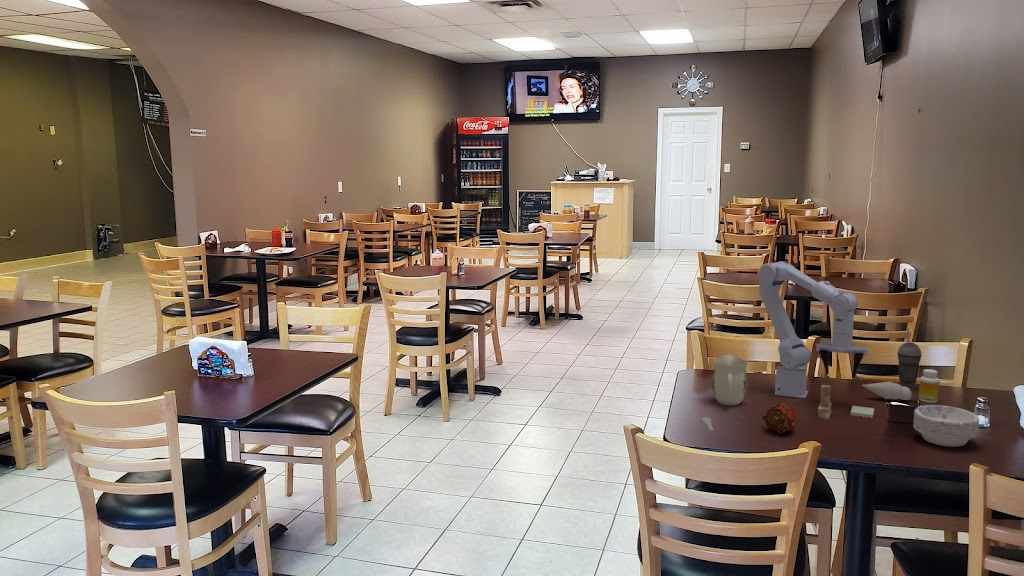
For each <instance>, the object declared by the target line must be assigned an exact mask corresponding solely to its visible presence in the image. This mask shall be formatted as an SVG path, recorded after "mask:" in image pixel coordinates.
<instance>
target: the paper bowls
mask: <svg viewBox="0 0 1024 576" xmlns="http://www.w3.org/2000/svg"><path fill="white" fill-rule="evenodd" d="M913 412H914V413H913V424H912V426H913V428H914V430H915V431H916V432H919V433H920V435H921V437H922V438H923V439H924V440H925V441H926V442H928V443H930V444H933V445H936V446H939V447H940V446H941V447H947V448H949V447H950V448H958V447H962V446H965V445H966V444H967V443H968V442H969V440H973V439H976V438H977V437H978V436H979V427H980V426H979V425H980V423H979V422H980V418H979V416H978V415H977V414H976V413H974V412H971V411H969V410H966V409H963V408H959V407H954V406H949V405H940V404H935V405H934V404H926V405H921V406H918V407H916V408H915V409H914V411H913Z"/></svg>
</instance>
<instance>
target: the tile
mask: <svg viewBox="0 0 1024 576" xmlns="http://www.w3.org/2000/svg"><path fill="white" fill-rule="evenodd" d="M874 413H875V408H874V407H866V406H865V407H864V406H858V405H852V407H851V410H850V416H853V417H860V416H862V417H863V418H868V417H870V419H873V417H874ZM862 417H861V418H862Z"/></svg>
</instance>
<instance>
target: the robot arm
mask: <svg viewBox="0 0 1024 576" xmlns="http://www.w3.org/2000/svg"><path fill="white" fill-rule="evenodd" d="M756 276H757V278H758V280H759V282H758V284H759V285H758V287H759V288H758V291H759V296H760V298H761V300H762V303H763V304H764V307H765V309H766V312H767V314H768V316H769V319H770V321H771V323H772V327H773V329H774V330H775V333H776V336H777V338H778V340H779V345H778V347H777V351H778V353H779V363H780V364H781V366H779V365H778V366H776V371H775V379H774V380H775V382H774V383H775V384H774V395H775V396H781V397H782V396H783V397H790V398H791V397H792V398H800V399H806V398H807V396H808V393H809V391H808V390H807V370H808V364H809V363H810V362H811V360H812V357H813V356H812V352H811V350H810V348H808V347H807V346H806V344H805V341H803V340H802V338H800V337H798V336H797V334H796V332H795V329H794V327H793V325H792V322H791V320H790V317H789V315H788V313H787V310H786V308H785V306H784V304H783V302H782V301H783V300H782V299H781V296H780V294H779V291H780V289H781V287H782V285H783V284H784V283H785V282H786V281H790V282H793V283H795V284H796V285H799V286H800V287H802V288H804V289H807V290H809V291H810V292H811V294H812V297H813V298H815V299H817V300H818V301H821V302H822V303H824V304H826V305H828V306H829V307H830V308H831V310H832V312H833V318H832V319H833V322H832V336H831V337H832V340H831V342H832V343H816V347H815V350H816V352H819V356H820V359H821V361H822V363H823V367H824V371H825V375H826V376H828V375H829V369H830V368H829V367H830V365H829V360H830V359H829V358H830V352H831V353H838V354H839V353H841V354H850V355H851V354H852V355H853V367H852V368H853V369H852V378H854V379H855V378H856V374H857V370H858V367H859V366H860V364H861V362H862V360H863V358H864V356H868V353H869V349H868V347H861V346H860V347H859V346H856V345H853V336H854V335H853V334H854V321H855V319H854V317H855V310H857V307H858V306H859V301H858V300H859V299H858V298H857V297H856V296H855V295H854V293H853V292H844V290H843V289H842V288H840V289H838V288H837V287H835V286H833V285H831V282H830V281H828V280H826V281H825V280H821V281H816V280H815V279H813V278H811V277H810V276H808V275H807V274H806V273H804V272H802V271H800V270H799V269H798V268H796V267H795V266H794V265H792V264H789V263H788V262H786V261H783V260H781V261H778V262H777V261H776V262H771V263H770V262H765V263H764V264H762V265H761V266H760V268H759V269H758V271H757V274H756Z"/></svg>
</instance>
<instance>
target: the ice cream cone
mask: <svg viewBox="0 0 1024 576" xmlns="http://www.w3.org/2000/svg"><path fill="white" fill-rule="evenodd" d="M861 386H862V387H864V388H865V389H866V390H869V391H870V392H872V393H873V394H876V395H877V396H879V397H881V398H883V399H884V400H886V399H889V400H890V399H901V400H907V401H909V400H910V399H911V397H912V396H913V394H912V390H910V389H909V388H907V387H902V386H901V385H900V384H899V383H897V382H892V381H883V382H876V383H875V382H874V383H869V384H861ZM901 400H900V401H901Z"/></svg>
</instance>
